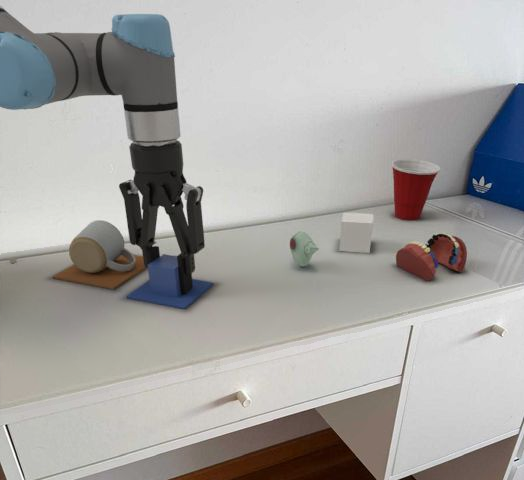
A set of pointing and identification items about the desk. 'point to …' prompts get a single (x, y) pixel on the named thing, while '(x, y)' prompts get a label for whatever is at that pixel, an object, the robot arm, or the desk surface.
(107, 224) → the ceramic mug
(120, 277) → the cork mat
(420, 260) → the teeth model
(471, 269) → the desk surface
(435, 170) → the plastic cup
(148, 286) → the blue mat
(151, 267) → the blue block
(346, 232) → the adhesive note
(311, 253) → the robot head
